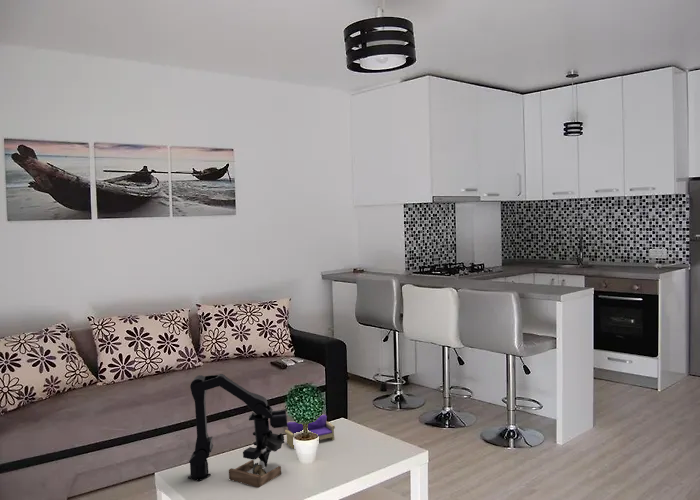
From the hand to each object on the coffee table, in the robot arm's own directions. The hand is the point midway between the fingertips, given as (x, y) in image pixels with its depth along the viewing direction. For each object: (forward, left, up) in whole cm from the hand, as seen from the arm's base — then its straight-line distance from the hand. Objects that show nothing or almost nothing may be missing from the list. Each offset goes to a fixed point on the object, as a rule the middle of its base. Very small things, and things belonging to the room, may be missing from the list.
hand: (265, 466), depth 245 cm
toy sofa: (+34, +2, -2) cm, 34 cm away
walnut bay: (-6, 0, -2) cm, 6 cm away
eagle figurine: (-6, -2, -2) cm, 7 cm away
